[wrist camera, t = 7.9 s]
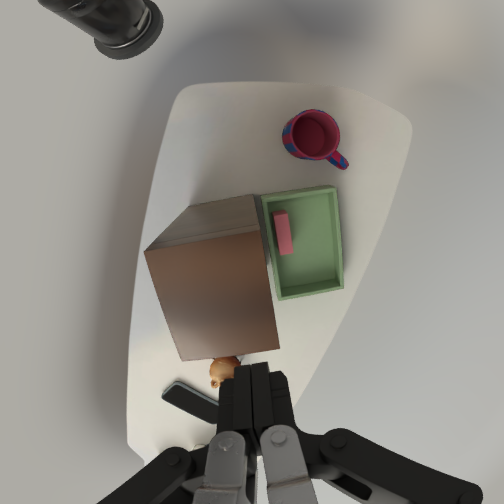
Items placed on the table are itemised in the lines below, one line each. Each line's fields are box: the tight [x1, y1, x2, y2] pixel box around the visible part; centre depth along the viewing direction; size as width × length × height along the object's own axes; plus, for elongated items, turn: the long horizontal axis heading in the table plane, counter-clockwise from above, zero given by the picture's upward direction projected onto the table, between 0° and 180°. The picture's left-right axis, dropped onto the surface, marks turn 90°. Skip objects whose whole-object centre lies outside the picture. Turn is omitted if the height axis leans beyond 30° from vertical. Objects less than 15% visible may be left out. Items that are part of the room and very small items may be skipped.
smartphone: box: [162, 382, 219, 424], centre depth 57 cm, size 7×1×15 cm
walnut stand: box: [144, 194, 280, 361], centre depth 35 cm, size 12×10×21 cm
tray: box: [261, 185, 344, 301], centre depth 44 cm, size 16×11×4 cm
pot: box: [210, 356, 241, 388], centre depth 49 cm, size 6×8×6 cm
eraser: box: [272, 210, 294, 255], centre depth 43 cm, size 6×3×2 cm
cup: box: [282, 109, 349, 170], centre depth 37 cm, size 7×10×7 cm
